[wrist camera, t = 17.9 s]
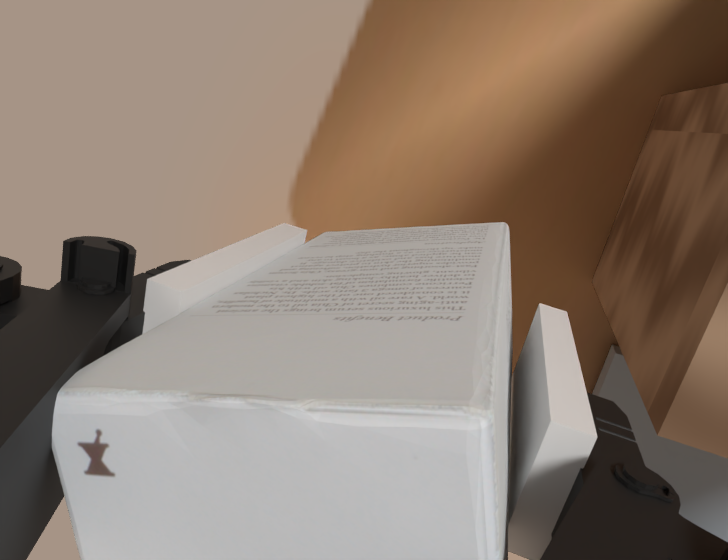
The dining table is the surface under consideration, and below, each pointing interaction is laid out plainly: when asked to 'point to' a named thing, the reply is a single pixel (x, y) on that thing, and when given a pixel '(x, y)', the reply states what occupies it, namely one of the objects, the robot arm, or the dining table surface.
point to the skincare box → (308, 411)
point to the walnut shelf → (675, 270)
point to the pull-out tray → (670, 453)
